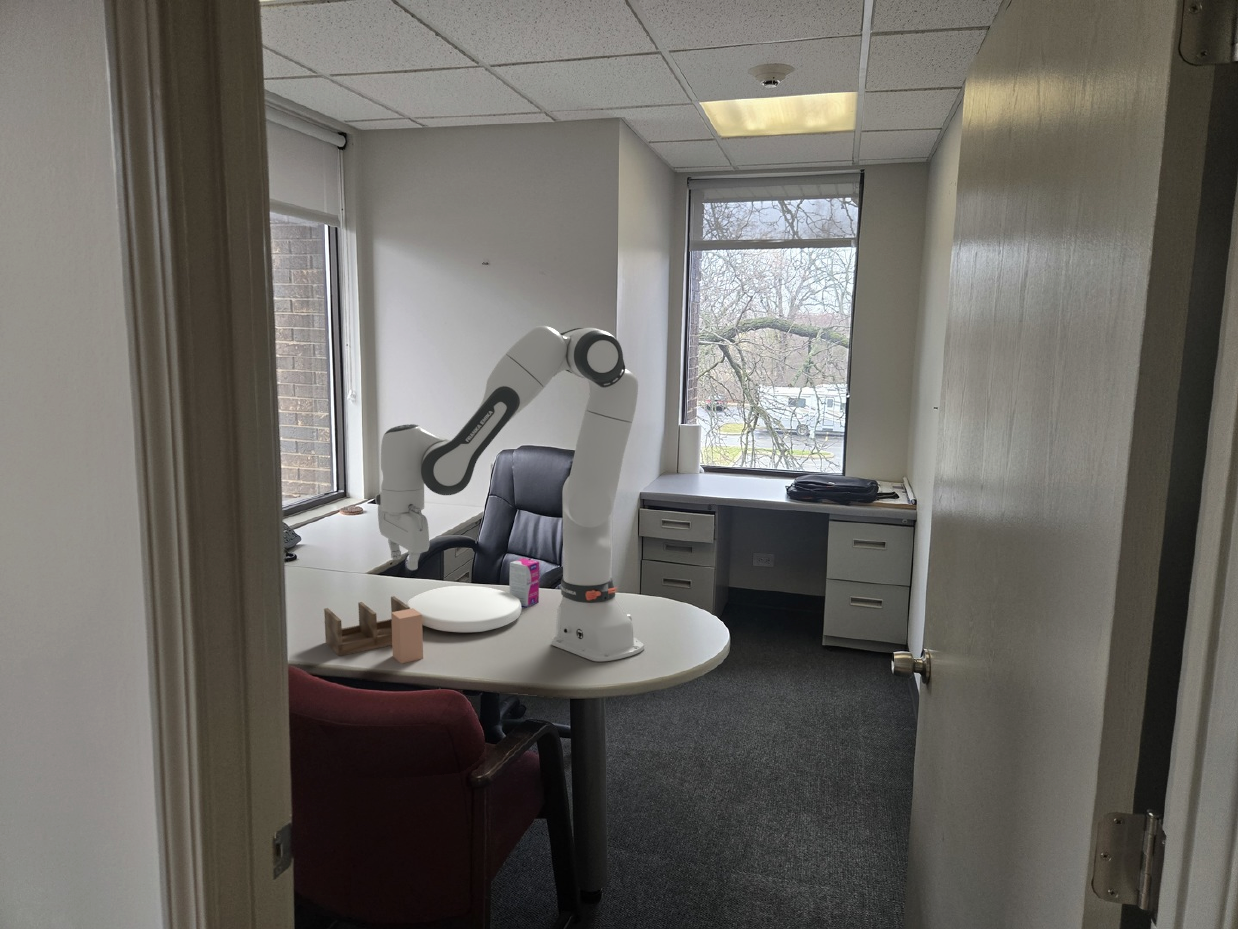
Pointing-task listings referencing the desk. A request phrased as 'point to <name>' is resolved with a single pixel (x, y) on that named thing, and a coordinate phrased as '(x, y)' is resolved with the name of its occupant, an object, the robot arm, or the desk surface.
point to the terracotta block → (407, 635)
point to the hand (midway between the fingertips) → (404, 564)
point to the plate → (466, 608)
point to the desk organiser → (360, 630)
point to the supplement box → (525, 581)
